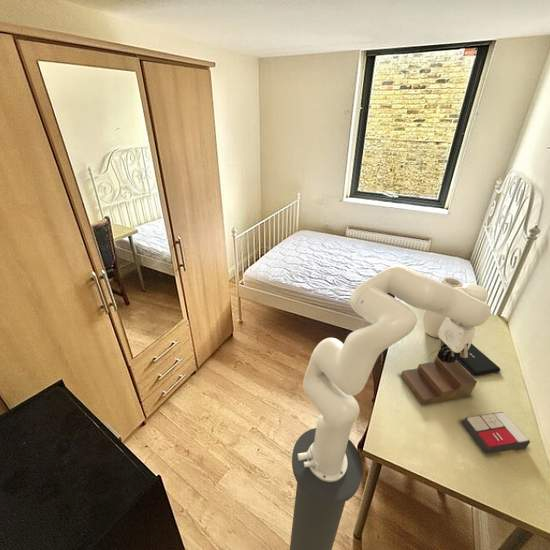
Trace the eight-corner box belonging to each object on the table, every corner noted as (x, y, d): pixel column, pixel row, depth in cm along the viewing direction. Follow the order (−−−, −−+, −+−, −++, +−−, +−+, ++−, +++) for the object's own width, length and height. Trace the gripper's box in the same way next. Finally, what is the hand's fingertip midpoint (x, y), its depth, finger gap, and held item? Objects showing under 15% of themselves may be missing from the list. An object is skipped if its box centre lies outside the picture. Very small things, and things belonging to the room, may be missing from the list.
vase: (420, 321, 152) (436, 271, 138) (449, 330, 146) (470, 279, 132) (416, 336, 142) (434, 284, 127) (448, 347, 136) (470, 293, 121)
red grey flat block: (464, 416, 101) (504, 410, 102) (461, 423, 103) (499, 417, 104) (489, 447, 91) (532, 440, 93) (484, 455, 93) (526, 448, 95)
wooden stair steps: (421, 405, 109) (427, 390, 105) (400, 375, 120) (405, 361, 116) (469, 396, 112) (477, 381, 109) (444, 368, 124) (450, 354, 120)
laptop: (467, 377, 121) (469, 373, 120) (440, 343, 138) (441, 340, 137) (503, 375, 122) (505, 372, 121) (472, 342, 139) (473, 339, 138)
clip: (455, 360, 107) (460, 350, 104) (442, 362, 106) (446, 352, 103) (449, 354, 109) (453, 344, 107) (436, 356, 108) (440, 346, 106)
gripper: (436, 305, 105) (423, 344, 114) (472, 336, 91) (453, 377, 100) (454, 303, 106) (439, 341, 115) (492, 333, 92) (472, 373, 101)
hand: (446, 357), depth 107 cm, fingers closed on clip, 3 cm apart
